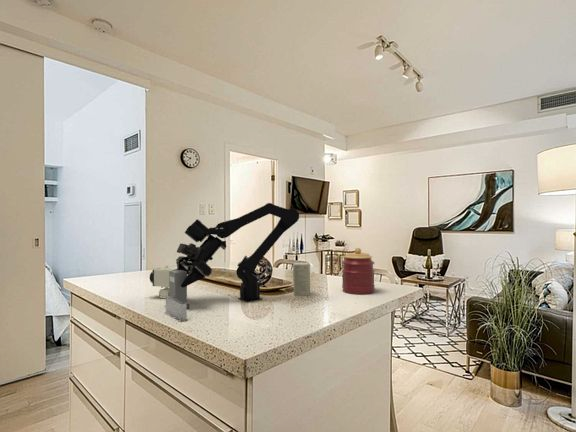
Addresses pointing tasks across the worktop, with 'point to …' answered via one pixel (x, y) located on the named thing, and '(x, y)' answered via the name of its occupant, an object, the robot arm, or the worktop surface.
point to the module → (177, 285)
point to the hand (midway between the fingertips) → (176, 284)
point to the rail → (177, 308)
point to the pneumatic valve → (161, 280)
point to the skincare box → (301, 278)
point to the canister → (358, 273)
